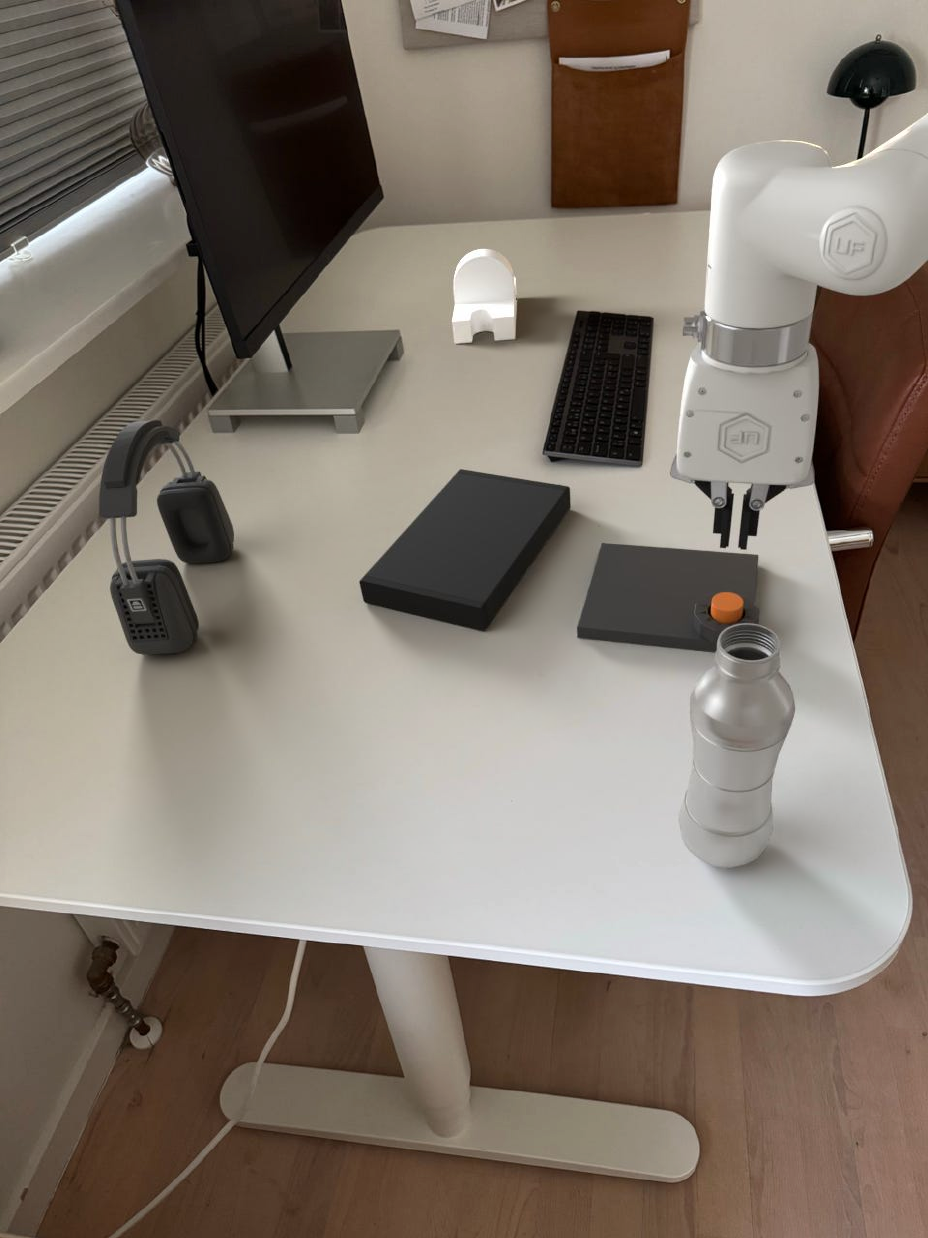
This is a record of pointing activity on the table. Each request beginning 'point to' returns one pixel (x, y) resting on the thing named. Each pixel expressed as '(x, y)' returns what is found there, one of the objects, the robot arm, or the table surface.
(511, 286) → the block with arch cutout
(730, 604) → the button
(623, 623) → the scale
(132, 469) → the headphones
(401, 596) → the external hard drive
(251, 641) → the table surface
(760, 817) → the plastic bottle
